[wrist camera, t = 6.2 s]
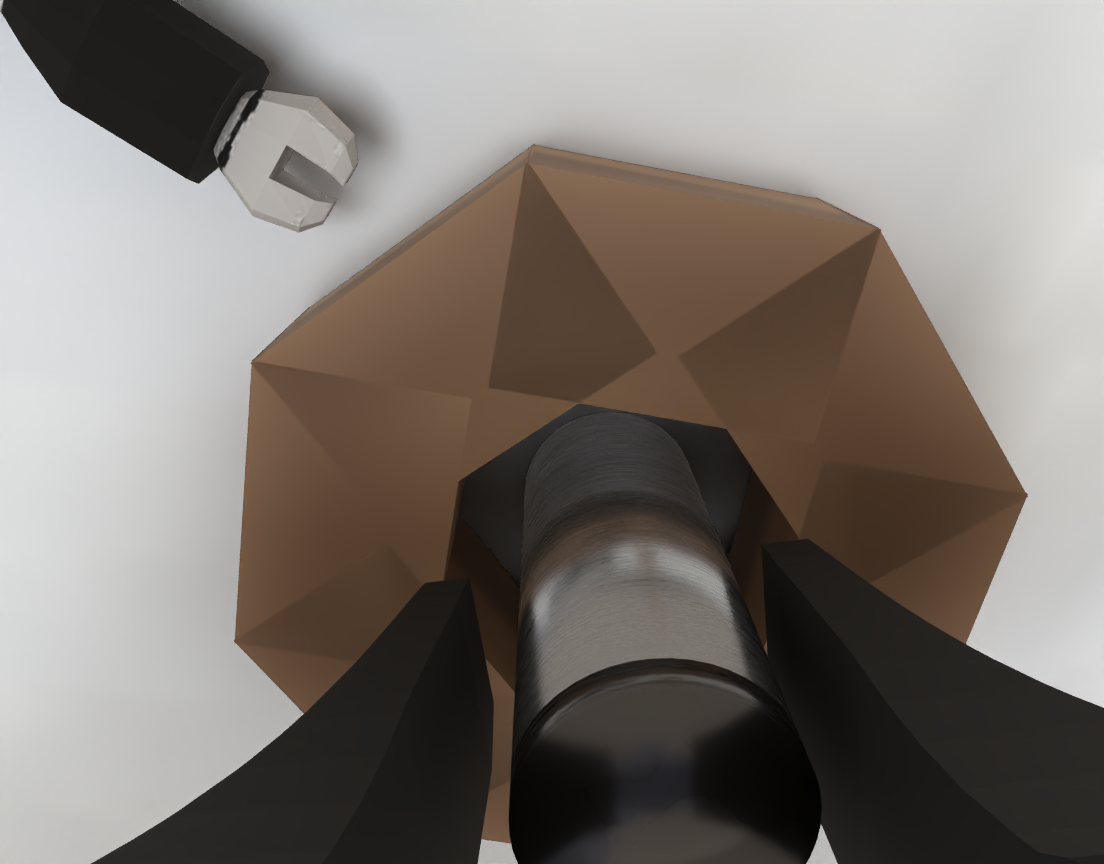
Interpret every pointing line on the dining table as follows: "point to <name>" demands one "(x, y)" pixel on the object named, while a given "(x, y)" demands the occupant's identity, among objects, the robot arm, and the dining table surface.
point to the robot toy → (186, 98)
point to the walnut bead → (610, 382)
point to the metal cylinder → (643, 671)
